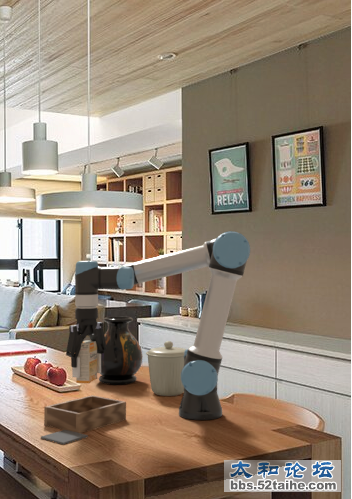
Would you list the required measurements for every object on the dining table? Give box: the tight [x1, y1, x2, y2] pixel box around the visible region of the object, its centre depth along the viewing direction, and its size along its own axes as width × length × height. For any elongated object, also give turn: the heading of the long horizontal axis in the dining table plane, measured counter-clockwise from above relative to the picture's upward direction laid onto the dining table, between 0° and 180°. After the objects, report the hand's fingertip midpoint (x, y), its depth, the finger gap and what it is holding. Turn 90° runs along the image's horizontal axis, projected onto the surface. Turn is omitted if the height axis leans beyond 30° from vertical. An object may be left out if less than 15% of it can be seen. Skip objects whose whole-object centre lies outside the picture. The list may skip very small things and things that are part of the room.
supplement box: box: [75, 340, 98, 384], centre depth 217 cm, size 8×5×13 cm, turn 168°
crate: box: [43, 394, 127, 434], centre depth 217 cm, size 22×16×6 cm
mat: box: [40, 429, 89, 445], centre depth 198 cm, size 10×10×1 cm
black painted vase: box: [98, 316, 143, 386], centre depth 285 cm, size 22×22×28 cm
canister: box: [145, 340, 187, 397], centre depth 262 cm, size 18×18×21 cm
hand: (87, 374), depth 217 cm, fingers closed on supplement box, 9 cm apart
